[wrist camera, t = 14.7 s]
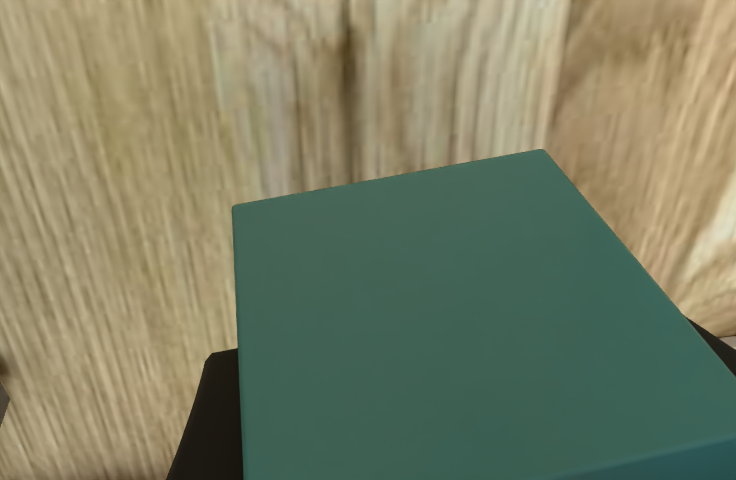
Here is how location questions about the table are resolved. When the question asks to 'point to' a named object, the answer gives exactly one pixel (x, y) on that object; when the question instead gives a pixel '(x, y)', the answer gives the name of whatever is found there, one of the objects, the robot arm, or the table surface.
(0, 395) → the basket
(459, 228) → the block
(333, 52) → the table surface
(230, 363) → the robot arm
